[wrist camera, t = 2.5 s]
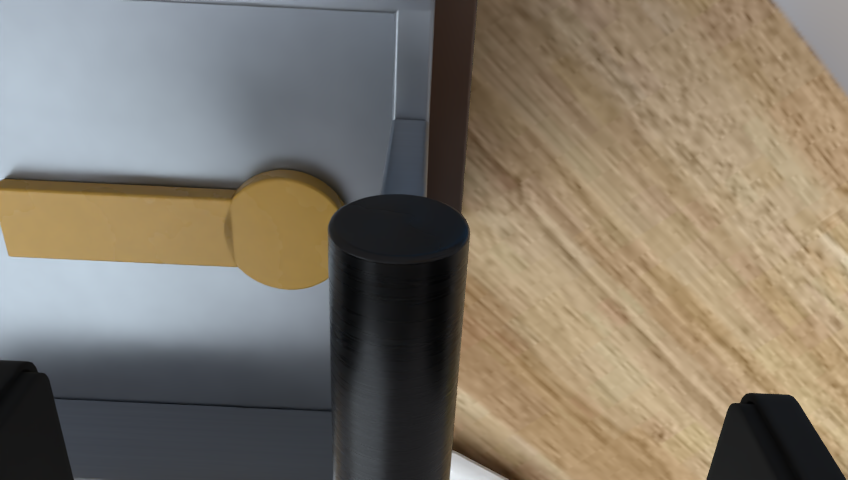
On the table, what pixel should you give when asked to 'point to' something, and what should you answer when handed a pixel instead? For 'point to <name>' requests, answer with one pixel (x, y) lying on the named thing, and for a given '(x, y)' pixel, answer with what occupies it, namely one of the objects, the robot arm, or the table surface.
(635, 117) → the table surface
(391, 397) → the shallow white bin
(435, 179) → the stand
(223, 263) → the key
